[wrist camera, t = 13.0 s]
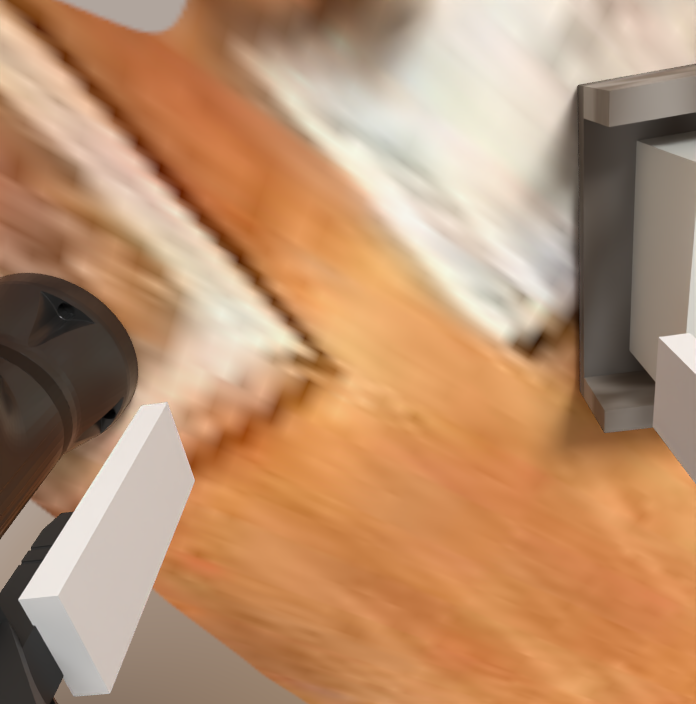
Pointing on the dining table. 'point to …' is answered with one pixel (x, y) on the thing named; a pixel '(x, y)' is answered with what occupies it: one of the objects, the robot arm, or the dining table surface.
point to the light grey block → (663, 244)
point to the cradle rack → (618, 231)
